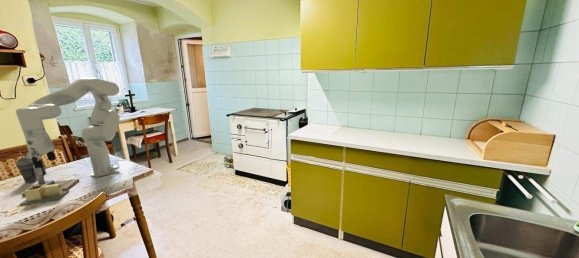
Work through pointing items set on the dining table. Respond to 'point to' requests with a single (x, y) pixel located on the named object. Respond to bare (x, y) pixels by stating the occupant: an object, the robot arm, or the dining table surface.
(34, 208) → the dining table surface
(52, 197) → the mat
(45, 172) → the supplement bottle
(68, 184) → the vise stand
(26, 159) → the beverage cup
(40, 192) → the beige block
